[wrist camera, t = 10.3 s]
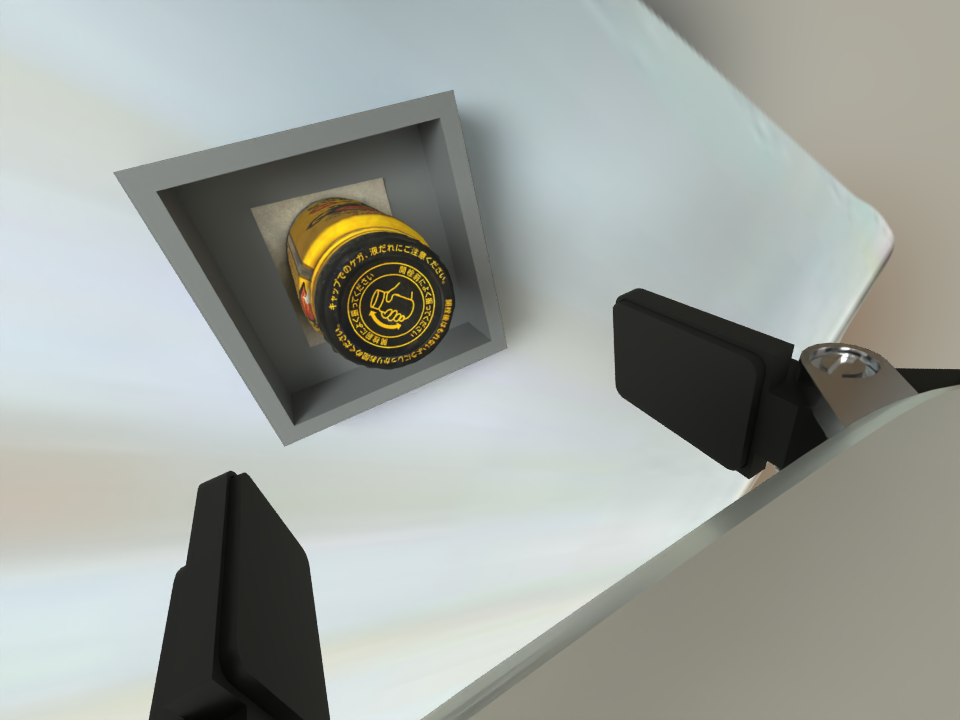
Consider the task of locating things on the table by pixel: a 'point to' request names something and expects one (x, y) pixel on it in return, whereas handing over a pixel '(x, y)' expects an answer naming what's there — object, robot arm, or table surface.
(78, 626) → the table surface
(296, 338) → the box
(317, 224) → the condiment
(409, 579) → the table surface
